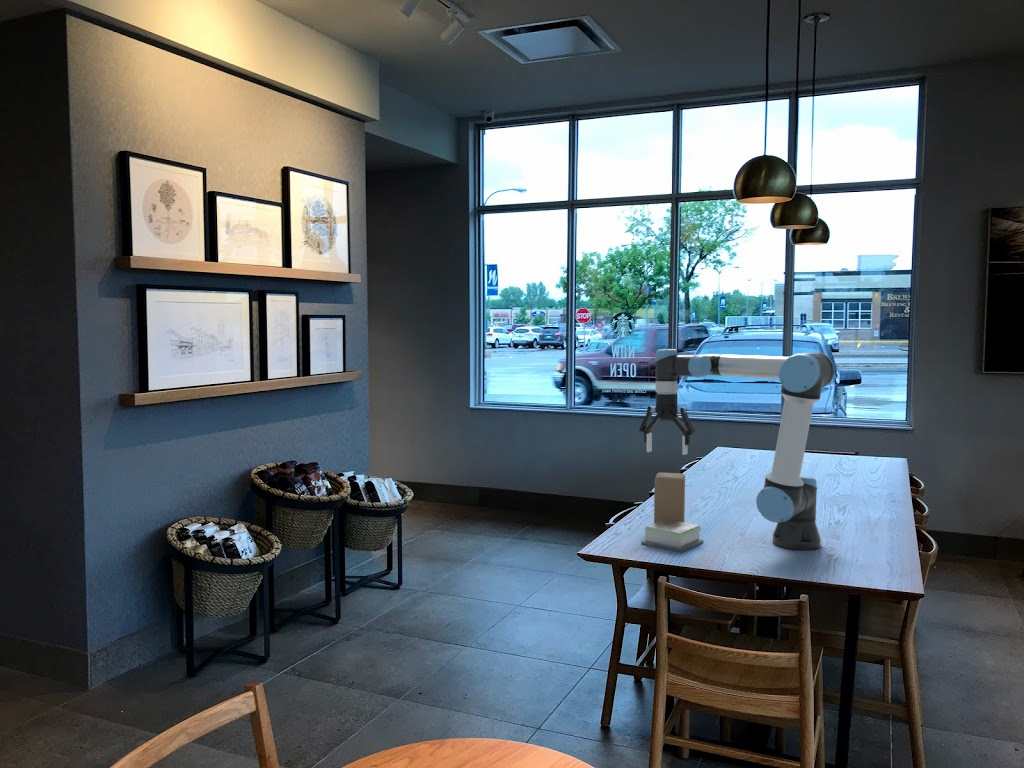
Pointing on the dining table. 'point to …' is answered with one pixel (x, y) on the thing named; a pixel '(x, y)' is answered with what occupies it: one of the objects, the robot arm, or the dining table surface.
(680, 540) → the stand
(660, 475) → the wooden block
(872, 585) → the dining table surface
